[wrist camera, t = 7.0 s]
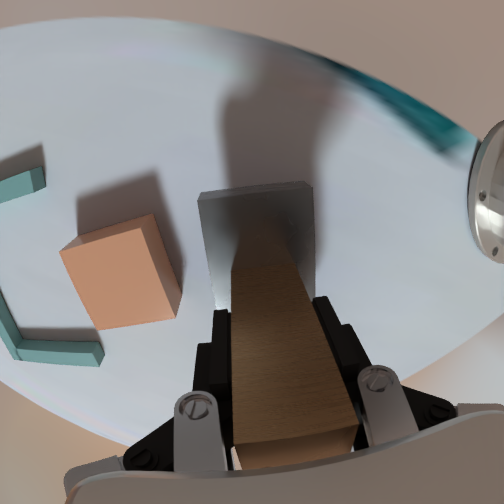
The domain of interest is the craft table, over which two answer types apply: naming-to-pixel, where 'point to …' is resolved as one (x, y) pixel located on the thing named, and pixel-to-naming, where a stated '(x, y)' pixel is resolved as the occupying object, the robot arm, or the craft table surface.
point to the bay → (3, 322)
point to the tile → (123, 274)
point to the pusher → (275, 326)
